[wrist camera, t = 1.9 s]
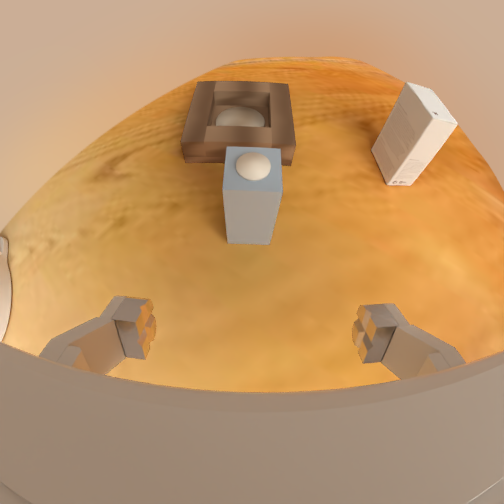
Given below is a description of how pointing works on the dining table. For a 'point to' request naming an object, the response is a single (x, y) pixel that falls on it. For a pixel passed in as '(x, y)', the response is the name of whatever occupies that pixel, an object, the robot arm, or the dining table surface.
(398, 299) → the dining table surface
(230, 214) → the post
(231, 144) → the socket block
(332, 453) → the robot arm
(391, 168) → the skincare box
